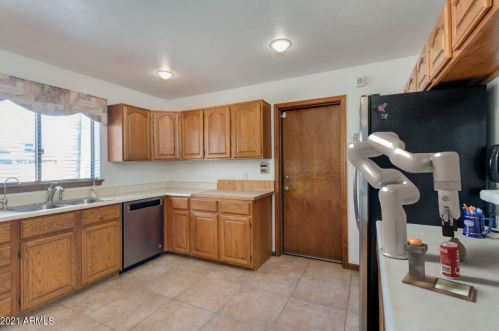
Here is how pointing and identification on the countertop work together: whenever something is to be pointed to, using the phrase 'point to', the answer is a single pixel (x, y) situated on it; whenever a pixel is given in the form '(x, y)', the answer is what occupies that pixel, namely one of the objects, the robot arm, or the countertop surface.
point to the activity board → (429, 282)
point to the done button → (416, 242)
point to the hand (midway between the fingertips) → (450, 233)
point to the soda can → (449, 260)
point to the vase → (461, 248)
